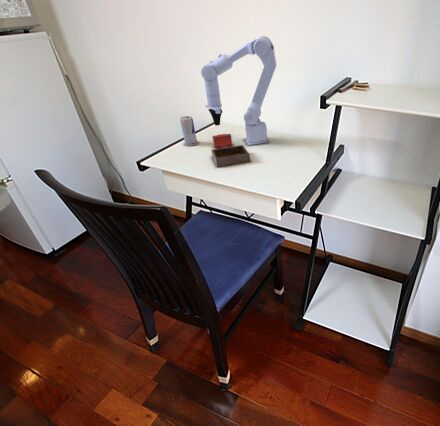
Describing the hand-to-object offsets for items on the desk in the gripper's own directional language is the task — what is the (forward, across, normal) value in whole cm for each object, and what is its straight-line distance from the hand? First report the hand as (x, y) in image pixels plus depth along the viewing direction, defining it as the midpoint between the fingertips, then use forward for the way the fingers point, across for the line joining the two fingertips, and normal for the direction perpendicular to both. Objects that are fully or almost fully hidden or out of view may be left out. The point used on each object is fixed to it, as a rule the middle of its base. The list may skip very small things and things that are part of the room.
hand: (217, 124), depth 141 cm
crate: (+7, +23, 0) cm, 24 cm away
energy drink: (+8, 0, -13) cm, 15 cm away
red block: (+7, +7, 0) cm, 10 cm away
